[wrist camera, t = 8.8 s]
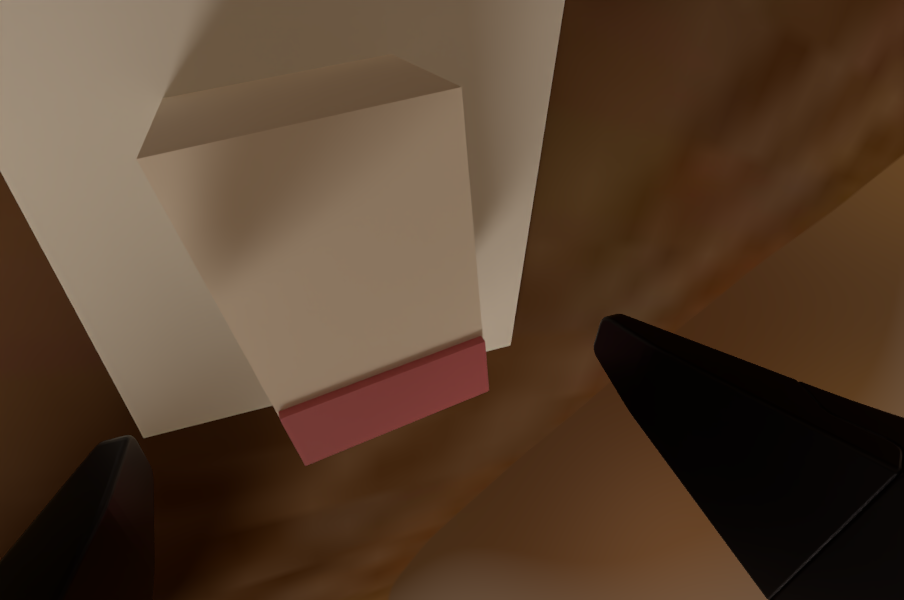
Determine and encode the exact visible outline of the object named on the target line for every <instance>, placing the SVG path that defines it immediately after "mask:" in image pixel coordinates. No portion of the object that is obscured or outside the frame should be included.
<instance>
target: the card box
mask: <svg viewBox="0 0 904 600" xmlns="http://www.w3.org/2000/svg"><path fill="white" fill-rule="evenodd" d="M136 160H137V162H138V163H139V165H140V167H141V169H142V171H143V172H144V174H145V176H146V178H147V180H148V181H149V183H150V185H151V187H152V189H153V190H154V192H155V194H156V196H157V198H158V199H159V201H160V203H161V205H162V207H163V208H164V210H165V212H166V214H167V216H168V218H169V219H170V221H171V223H172V225H173V227H174V228H175V230H176V232H177V234H178V236H179V237H180V239H181V241H182V243H183V245H184V246H185V248H186V250H187V252H188V254H189V255H190V257H191V259H192V261H193V263H194V264H195V266H196V268H197V270H198V272H199V274H200V275H201V277H202V279H203V281H204V283H205V284H206V286H207V288H208V290H209V292H210V293H211V295H212V297H213V299H214V301H215V302H216V304H217V306H218V308H219V310H220V311H221V313H222V315H223V317H224V319H225V320H226V322H227V324H228V326H229V328H230V329H231V331H232V333H233V335H234V337H235V339H236V340H237V342H238V344H239V346H240V348H241V349H242V351H243V353H244V355H245V357H246V358H247V360H248V362H249V364H250V366H251V367H252V369H253V371H254V373H255V375H256V376H257V378H258V380H259V382H260V384H261V385H262V387H263V389H264V391H265V393H266V395H267V396H268V398H269V400H270V402H271V404H272V405H273V407H274V409H275V411H276V413H277V414H278V416H279V419H280V421H281V423H282V425H283V426H284V428H285V430H286V432H287V434H288V435H289V437H290V439H291V441H292V443H293V444H294V446H295V448H296V450H297V452H298V453H299V455H300V457H301V459H302V461H303V462H304V464H305V466H307V465H309V464H311V463H314V462H316V461H319V460H321V459H324V458H326V457H328V456H331V455H333V454H336V453H338V452H341V451H343V450H346V449H348V448H350V447H353V446H355V445H358V444H360V443H363V442H365V441H367V440H370V439H372V438H375V437H377V436H380V435H382V434H385V433H387V432H389V431H392V430H394V429H397V428H399V427H402V426H404V425H407V424H409V423H411V422H414V421H416V420H419V419H421V418H424V417H426V416H428V415H431V414H433V413H436V412H438V411H441V410H443V409H446V408H448V407H450V406H453V405H455V404H458V403H460V402H463V401H465V400H467V399H470V398H472V397H475V396H477V395H480V394H482V393H485V392H487V391H489V384H488V371H487V359H486V347H485V341H484V339H483V333H482V322H481V310H480V298H479V286H478V274H477V262H476V251H475V239H474V227H473V215H472V203H471V191H470V180H469V168H468V156H467V144H466V132H465V120H464V109H463V97H462V87H460V86H458V85H456V84H454V83H452V82H450V81H448V80H446V79H444V78H441V77H439V76H437V75H435V74H433V73H431V72H429V71H427V70H424V69H422V68H420V67H418V66H416V65H414V64H412V63H410V62H407V61H405V60H403V59H401V58H399V57H397V56H395V55H393V54H388V55H383V56H378V57H373V58H368V59H362V60H357V61H352V62H347V63H342V64H337V65H331V66H326V67H321V68H316V69H311V70H306V71H300V72H295V73H290V74H285V75H280V76H275V77H269V78H264V79H259V80H254V81H249V82H244V83H239V84H233V85H228V86H223V87H218V88H213V89H208V90H202V91H197V92H192V93H187V94H182V95H177V96H171V97H166V98H162V101H161V103H160V105H159V108H158V110H157V112H156V115H155V117H154V119H153V122H152V124H151V126H150V129H149V131H148V133H147V135H146V138H145V140H144V142H143V145H142V147H141V149H140V152H139V154H138V156H137V159H136Z"/></svg>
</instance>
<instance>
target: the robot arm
mask: <svg viewBox="0 0 904 600" xmlns="http://www.w3.org/2000/svg"><path fill="white" fill-rule="evenodd" d="M594 352H595V355H596V357H597V358H598V360H599V362H600V363H601V365H602V367H603V369H604V370H605V372H606V374H607V375H608V377H609V379H610V380H611V382H612V384H613V385H614V387H615V388H616V390H617V392H618V394H619V395H620V397H621V399H622V400H623V402H624V404H625V405H626V407H627V408H628V410H629V411H630V413H631V414H632V416H633V417H634V419H635V420H636V421H637V423H638V424H639V425H640V427H641V428H642V430H643V431H644V432H645V434H646V435H647V436H648V438H649V439H650V440H651V442H652V443H653V445H654V446H655V447H656V449H657V450H658V451H659V453H660V454H661V455H662V457H663V458H664V460H665V461H666V462H667V464H668V465H669V466H670V468H671V469H672V470H673V472H674V473H675V474H676V476H677V477H678V479H679V480H680V481H681V483H682V484H683V485H684V487H685V488H686V489H687V491H688V492H689V494H690V495H691V496H692V498H693V499H694V500H695V502H696V503H697V504H698V506H699V507H700V508H701V510H702V511H703V512H704V514H705V515H706V517H707V518H708V519H709V521H710V522H711V523H712V525H713V526H714V527H715V529H716V530H717V531H718V533H719V534H720V536H721V537H722V538H723V540H724V541H725V542H726V544H727V545H728V546H729V548H730V549H731V551H732V552H733V553H734V555H735V556H736V557H737V559H738V560H739V561H740V563H741V564H742V565H743V567H744V568H745V570H746V571H747V572H748V573H749V575H750V576H751V578H752V579H753V581H754V582H755V583H756V585H757V586H758V587H759V589H760V590H761V591H762V593H763V594H764V595H765V597H766V598H767V599H768V600H904V418H903V417H899V416H896V415H893V414H890V413H887V412H884V411H881V410H878V409H875V408H873V407H870V406H867V405H864V404H861V403H858V402H855V401H852V400H849V399H846V398H844V397H841V396H838V395H835V394H833V393H830V392H827V391H824V390H821V389H819V388H816V387H814V386H811V385H808V384H805V383H803V382H798V381H797V380H795V379H792V378H789V377H787V376H784V375H782V374H779V373H776V372H774V371H771V370H768V369H766V368H763V367H761V366H758V365H755V364H753V363H750V362H747V361H745V360H742V359H740V358H737V357H734V356H732V355H729V354H726V353H724V352H721V351H718V350H716V349H713V348H710V347H708V346H705V345H702V344H700V343H697V342H695V341H692V340H689V339H687V338H684V337H681V336H679V335H676V334H673V333H671V332H668V331H666V330H663V329H660V328H658V327H655V326H652V325H650V324H647V323H644V322H642V321H639V320H636V319H634V318H631V317H629V316H626V315H623V314H615V315H611V316H607V317H604V318H603V319H602V320H601V323H600V326H599V329H598V332H597V336H596V339H595V342H594ZM153 583H154V480H153V472H152V469H151V466H150V464H149V462H148V460H147V458H146V457H145V455H144V453H143V451H142V449H141V448H140V446H139V444H138V442H137V440H136V439H135V438H134V437H133V436H131V435H126V436H121V437H117V438H113V439H109V440H105V441H102V442H100V443H99V444H98V445H97V446H96V447H95V448H94V449H93V450H92V451H91V453H90V454H89V455H88V456H87V457H86V459H85V460H84V461H83V462H82V463H81V465H80V466H79V467H78V468H77V469H76V471H75V472H74V473H73V474H72V475H71V477H70V478H69V479H68V480H67V481H66V483H65V484H64V485H63V486H62V487H61V489H60V490H59V491H58V492H57V493H56V495H55V496H54V497H53V498H52V499H51V501H50V502H49V503H48V504H47V505H46V507H45V508H44V509H43V510H42V511H41V513H40V514H39V515H38V516H37V517H36V519H35V520H34V521H33V522H32V523H31V525H30V526H29V527H28V528H27V529H26V531H25V532H24V533H23V534H22V535H21V537H20V538H19V539H18V540H17V541H16V543H15V544H14V545H13V546H12V548H11V549H10V550H9V551H8V552H7V554H6V555H5V556H4V557H3V558H2V560H1V561H0V600H152V594H153Z"/></svg>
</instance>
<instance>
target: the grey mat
mask: <svg viewBox="0 0 904 600" xmlns="http://www.w3.org/2000/svg"><path fill="white" fill-rule="evenodd" d="M564 3H565V0H0V171H1V173H2V175H3V177H4V179H5V181H6V182H7V184H8V186H9V188H10V190H11V192H12V194H13V195H14V197H15V199H16V201H17V203H18V205H19V207H20V209H21V210H22V212H23V214H24V216H25V218H26V220H27V222H28V223H29V225H30V227H31V229H32V231H33V233H34V235H35V237H36V238H37V240H38V242H39V244H40V246H41V248H42V250H43V251H44V253H45V255H46V257H47V259H48V261H49V263H50V264H51V266H52V268H53V270H54V272H55V274H56V276H57V278H58V279H59V281H60V283H61V285H62V287H63V289H64V291H65V292H66V294H67V296H68V298H69V300H70V302H71V304H72V306H73V307H74V309H75V311H76V313H77V315H78V317H79V319H80V320H81V322H82V324H83V326H84V328H85V330H86V332H87V334H88V335H89V337H90V339H91V341H92V343H93V345H94V347H95V348H96V350H97V352H98V354H99V356H100V358H101V360H102V362H103V363H104V365H105V367H106V369H107V371H108V373H109V375H110V376H111V378H112V380H113V382H114V384H115V386H116V388H117V390H118V391H119V393H120V395H121V397H122V399H123V401H124V403H125V404H126V406H127V408H128V410H129V412H130V414H131V416H132V417H133V419H134V421H135V423H136V425H137V427H138V429H139V431H140V432H141V434H142V436H143V438H147V437H151V436H155V435H159V434H163V433H166V432H170V431H174V430H178V429H182V428H186V427H190V426H194V425H198V424H202V423H206V422H210V421H214V420H218V419H222V418H226V417H230V416H234V415H237V414H241V413H245V412H249V411H253V410H257V409H261V408H265V407H269V406H273V405H272V404H271V402H270V400H269V398H268V396H267V395H266V393H265V391H264V389H263V387H262V385H261V384H260V382H259V380H258V378H257V376H256V375H255V373H254V371H253V369H252V367H251V366H250V364H249V362H248V360H247V358H246V357H245V355H244V353H243V351H242V349H241V348H240V346H239V344H238V342H237V340H236V339H235V337H234V335H233V333H232V331H231V329H230V328H229V326H228V324H227V322H226V320H225V319H224V317H223V315H222V313H221V311H220V310H219V308H218V306H217V304H216V302H215V301H214V299H213V297H212V295H211V293H210V292H209V290H208V288H207V286H206V284H205V283H204V281H203V279H202V277H201V275H200V274H199V272H198V270H197V268H196V266H195V264H194V263H193V261H192V259H191V257H190V255H189V254H188V252H187V250H186V248H185V246H184V245H183V243H182V241H181V239H180V237H179V236H178V234H177V232H176V230H175V228H174V227H173V225H172V223H171V221H170V219H169V218H168V216H167V214H166V212H165V210H164V208H163V207H162V205H161V203H160V201H159V199H158V198H157V196H156V194H155V192H154V190H153V189H152V187H151V185H150V183H149V181H148V180H147V178H146V176H145V174H144V172H143V171H142V169H141V167H140V165H139V163H138V162H137V160H136V159H137V156H138V154H139V152H140V149H141V147H142V145H143V142H144V140H145V138H146V135H147V133H148V131H149V129H150V126H151V124H152V122H153V119H154V117H155V115H156V112H157V110H158V108H159V105H160V103H161V101H162V98H166V97H171V96H177V95H182V94H187V93H192V92H197V91H202V90H208V89H213V88H218V87H223V86H228V85H233V84H239V83H244V82H249V81H254V80H259V79H264V78H269V77H275V76H280V75H285V74H290V73H295V72H300V71H306V70H311V69H316V68H321V67H326V66H331V65H337V64H342V63H347V62H352V61H357V60H362V59H368V58H373V57H378V56H383V55H388V54H393V55H395V56H397V57H399V58H401V59H403V60H405V61H407V62H410V63H412V64H414V65H416V66H418V67H420V68H422V69H424V70H427V71H429V72H431V73H433V74H435V75H437V76H439V77H441V78H444V79H446V80H448V81H450V82H452V83H454V84H456V85H458V86H460V87H462V97H463V109H464V120H465V132H466V144H467V156H468V168H469V180H470V191H471V203H472V215H473V227H474V239H475V251H476V262H477V274H478V286H479V298H480V310H481V322H482V333H483V339H484V341H485V347H486V351H490V350H494V349H498V348H502V347H506V346H510V345H511V339H512V332H513V326H514V320H515V313H516V307H517V301H518V294H519V288H520V282H521V275H522V269H523V263H524V256H525V250H526V244H527V237H528V231H529V225H530V218H531V212H532V206H533V199H534V193H535V187H536V180H537V174H538V168H539V161H540V155H541V149H542V142H543V136H544V130H545V123H546V117H547V111H548V104H549V98H550V92H551V85H552V79H553V73H554V66H555V60H556V54H557V47H558V41H559V35H560V28H561V22H562V16H563V9H564Z"/></svg>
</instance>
